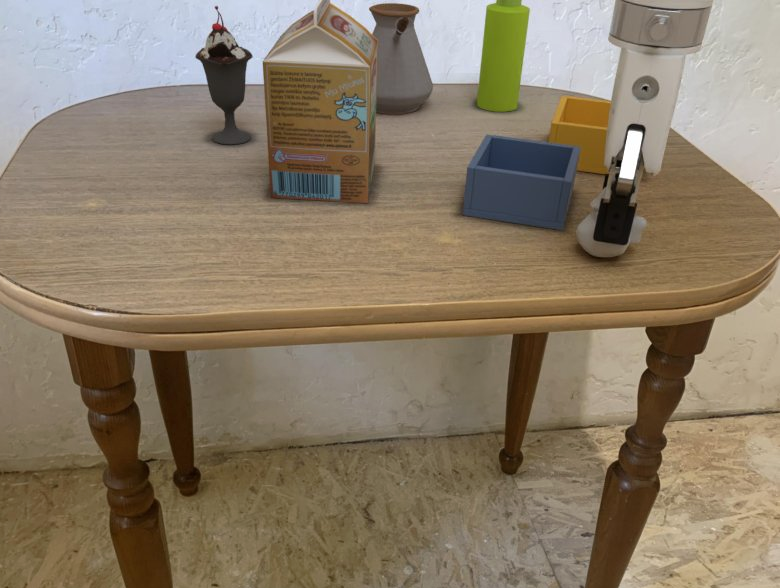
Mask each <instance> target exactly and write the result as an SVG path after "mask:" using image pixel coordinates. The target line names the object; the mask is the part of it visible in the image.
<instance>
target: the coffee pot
mask: <svg viewBox="0 0 780 588" xmlns="http://www.w3.org/2000/svg"><path fill="white" fill-rule="evenodd" d="M368 10H369V12H370V13H371V15H372V17H373V20H374V22H375V26H374V29H373V31H372V33H371V34H372V35H373V36H374V37H375V38H376V40H377V41H378V49H377V91H376V113H379V114H381V113H382V114H389V115H401V114H403V115H404V114H408V113H413V112H415V111H417V110H418V109H419V108H420V106H421V105H424V104H425V102H427V100H428V99H429V98H430V96H431V94H432V93H433V90H434V83H433V80H432V78H431V75H430V72H429V69H428V65H427V62H426V60H425V56H424V53H423V50H422V47H421V44H420V41H419V37H418V35H417V32H416V29H415V20H416V16H417V15H418V14H419V13H420V8H419V7H417V6H415V5H411V4H407V3H397V2H387V3H386V2H385V3H378V4H374V5H372V6H370V7H368Z"/></svg>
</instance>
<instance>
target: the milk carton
mask: <svg viewBox="0 0 780 588" xmlns="http://www.w3.org/2000/svg"><path fill="white" fill-rule="evenodd" d="M377 49H378V41H377V40H376V38H375V37H374V36H373V35H372V33H371V32H370V30H368V28H367V27H366V26H364V25H363V24H362V23H360V22H359V21H357V20H356V19H355V18H354V17H353V16H352V15H350V14H349V13H346V12H345V11H344V10H342V9H341V8H340V7H337V6H336V5H334V4H333V3H331V0H318V1H317V3H316V4H315V6H314V7H313V10H311V11H309V12H308V13H306V14H304V16H302V17H300V18H299V19H297V20H296V21H295V22H292V24H291V25H290V26H288V28H287V29H286V30H285V31H284V32H283V33H282V34H281V35H280V36H279V38H278V39H277V41H276V42H275V43H274V45H273V46H272V47H271V49H270V50H269V52H268V53H267V54H266V56H265V57H264V59H263V60H262V75H263V91H264V107H265V125H266V138H267V139H266V140H267V142H266V143H267V156H268V157H267V158H268V172H269V173H268V174H269V188H270V199H286V200H301V201H303V200H304V201H320V202H321V201H323V202H339V203H356V204H357V203H358V204H368V203H369V199H370V195H371V194H370V193H371V187H372V184H373V183H372V182H373V179H374V178H373V177H374V173H375V167H376V133H377V131H376V130H377V128H376V127H377V112H376V91H377Z"/></svg>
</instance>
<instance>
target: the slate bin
mask: <svg viewBox="0 0 780 588" xmlns="http://www.w3.org/2000/svg"><path fill="white" fill-rule="evenodd" d="M580 150H581V147H579V146H572V145H565V144H557V143H549V142H548V141H541V140H533V139H526V138H519V137H511V136H510V137H509V136H504V135H503V136H502V135H496V134H495V135H494V134H485V136H484V138H483V139H482V141H481V143H480V145H479V146H478V148H477V150H476V151H475V153H474V155H473V157H472V158H471V160H470V162H469V163H468V165H467V167H466V176H465V187H464V196H463V206H462V216H465V217H473V218H479V219H485V220H492V221H498V222H504V223H505V222H506V223H512V224H516V225H517V224H518V225H525V226H531V227H537V228H544V229H551V230H556V231H563V230H564V228H565V227H564V226H565V222H566V219H567V215H568V211H569V207H570V203H571V200H572V195H573V192H574V186H575V180H576V176H577V172H578V171H577V166H578V160H579V155H580Z"/></svg>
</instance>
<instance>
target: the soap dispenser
mask: <svg viewBox="0 0 780 588" xmlns="http://www.w3.org/2000/svg"><path fill="white" fill-rule="evenodd" d="M522 1H523V0H495V2H493V3H489V4H487V5H486V6H485V7H486V8H485V9H486V10H485V20H484V28H483V30H484V31H483V37H482V48H481V57H480V69H479V77H478V87H477V88H478V89H477V98H476V106H477V107H478V108H479V109H482V110H485V111H490V112H496V113H505V112H506V113H507V112H513V111H515V110H517V108H518V103H519V96H520V87H521V82H522V81H521V79H522V73H523V66H524V59H525V57H524V56H525V50H526V44H527V43H526V42H527V36H528V29H529V19H530V14H531V13H530V11H531V8H530V7H528V6H526V5H523V4H522Z"/></svg>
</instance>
